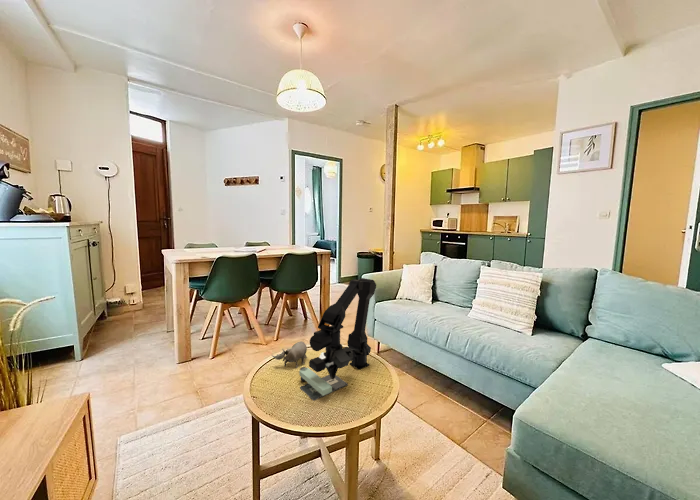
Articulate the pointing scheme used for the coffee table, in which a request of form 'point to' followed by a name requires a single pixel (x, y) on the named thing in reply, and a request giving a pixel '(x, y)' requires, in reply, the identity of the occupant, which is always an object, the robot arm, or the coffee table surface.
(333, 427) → the coffee table surface
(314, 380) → the swing arm
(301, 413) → the coffee table surface
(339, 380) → the label panel
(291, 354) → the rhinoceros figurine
